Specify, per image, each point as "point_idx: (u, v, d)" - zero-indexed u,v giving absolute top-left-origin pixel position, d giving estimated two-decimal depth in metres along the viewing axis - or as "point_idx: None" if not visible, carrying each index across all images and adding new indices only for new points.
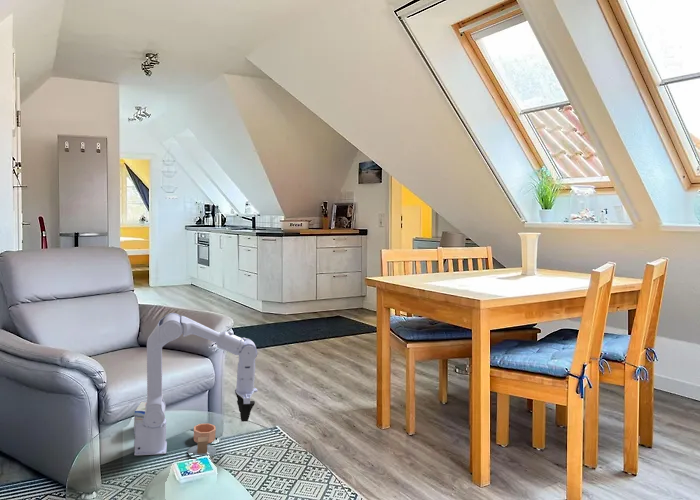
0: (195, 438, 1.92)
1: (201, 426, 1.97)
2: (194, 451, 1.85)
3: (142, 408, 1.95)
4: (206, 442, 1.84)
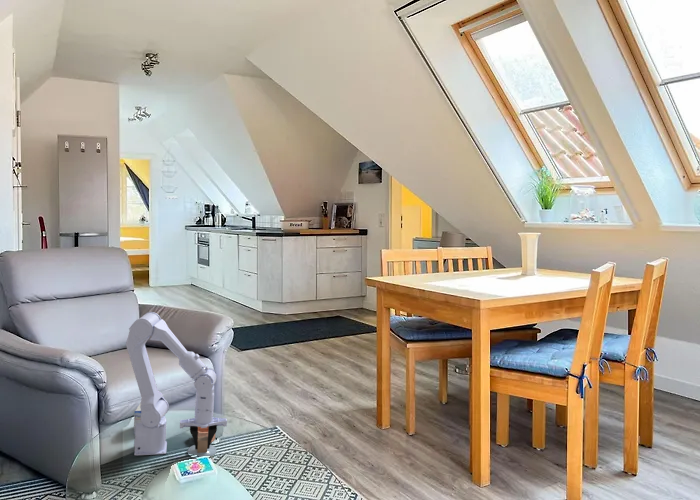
0: None
1: None
2: (194, 450, 1.85)
3: None
4: (206, 441, 1.84)
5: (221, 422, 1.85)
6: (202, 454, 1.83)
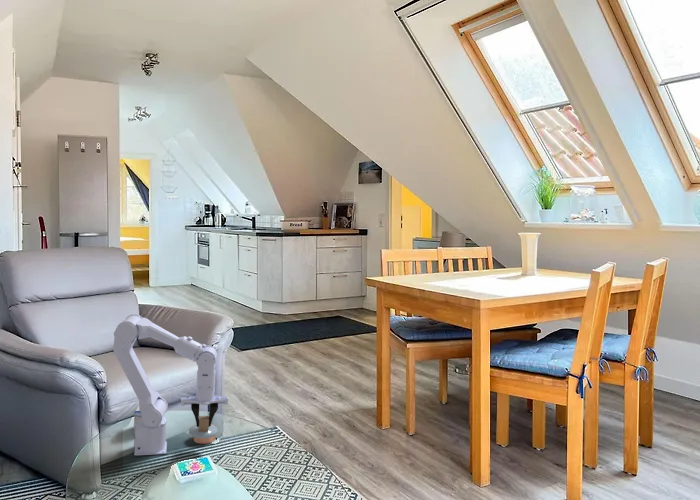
0: (195, 438, 1.92)
1: None
2: (195, 430, 1.85)
3: None
4: (207, 420, 1.85)
5: (222, 400, 1.85)
6: (203, 433, 1.83)
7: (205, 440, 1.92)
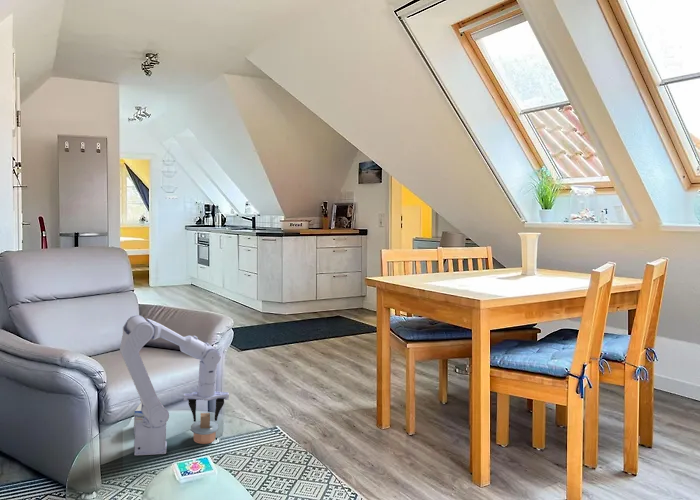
0: (195, 438, 1.92)
1: None
2: (197, 426, 1.94)
3: None
4: (209, 417, 1.93)
5: (223, 395, 1.94)
6: (205, 429, 1.92)
7: (205, 440, 1.92)
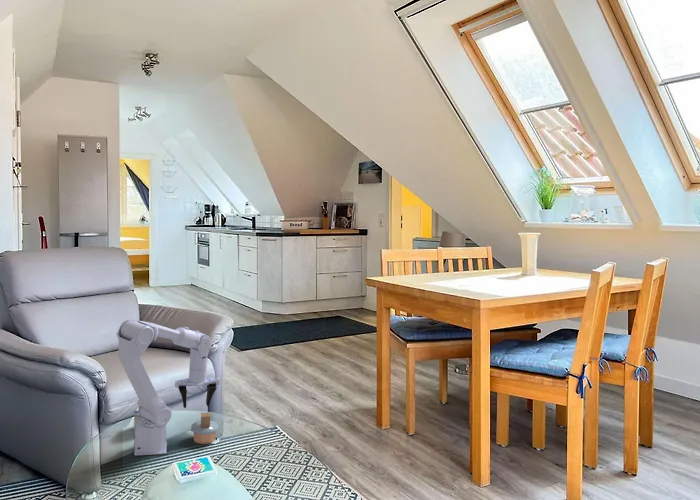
0: (195, 438, 1.92)
1: None
2: (198, 426, 1.94)
3: None
4: (209, 417, 1.93)
5: (214, 381, 1.97)
6: (205, 429, 1.92)
7: (205, 440, 1.92)
